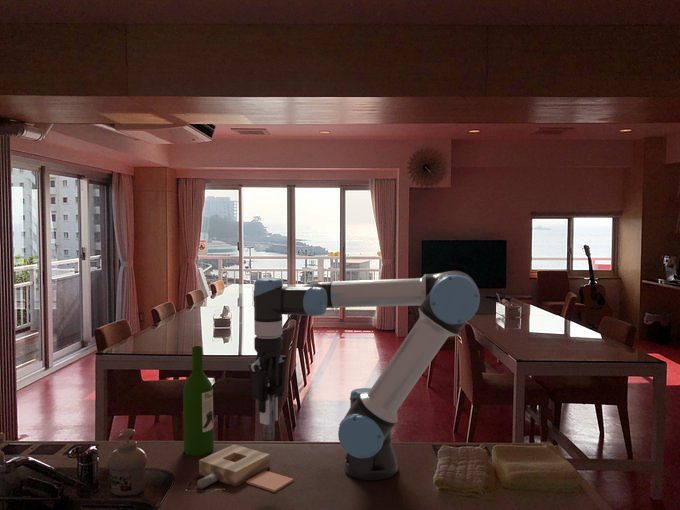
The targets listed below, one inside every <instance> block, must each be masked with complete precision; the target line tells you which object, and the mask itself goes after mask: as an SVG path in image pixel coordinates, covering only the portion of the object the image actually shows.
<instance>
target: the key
mask: <svg viewBox="0 0 680 510" xmlns="http://www.w3.org/2000/svg"><path fill="white" fill-rule="evenodd" d="M280 394H282V395H283V392H282V386H279V385H274V384H269V382H268V393H267V400H269V424H268V425H266V424H263V427H262V429H263V430H262V431H263V432H262V434H263V440H266V441H269V440H270V441H271V440H273V439H275V421H274V395H275V396H277V395H280Z"/></svg>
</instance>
